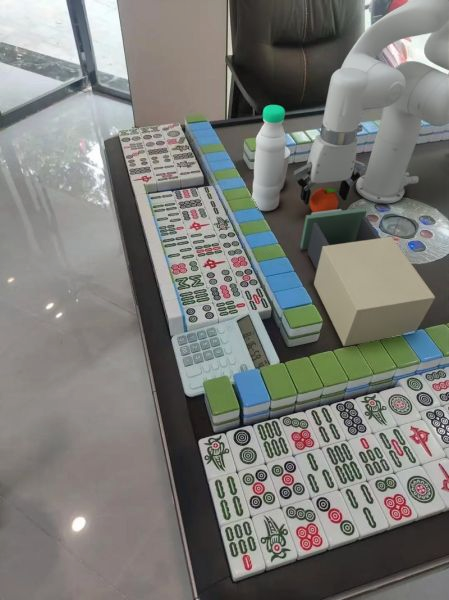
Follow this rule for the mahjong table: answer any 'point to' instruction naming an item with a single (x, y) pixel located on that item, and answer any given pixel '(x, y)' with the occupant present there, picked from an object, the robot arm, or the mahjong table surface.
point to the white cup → (285, 166)
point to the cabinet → (371, 290)
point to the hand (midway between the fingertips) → (323, 199)
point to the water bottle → (269, 159)
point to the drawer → (335, 230)
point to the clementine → (324, 200)
